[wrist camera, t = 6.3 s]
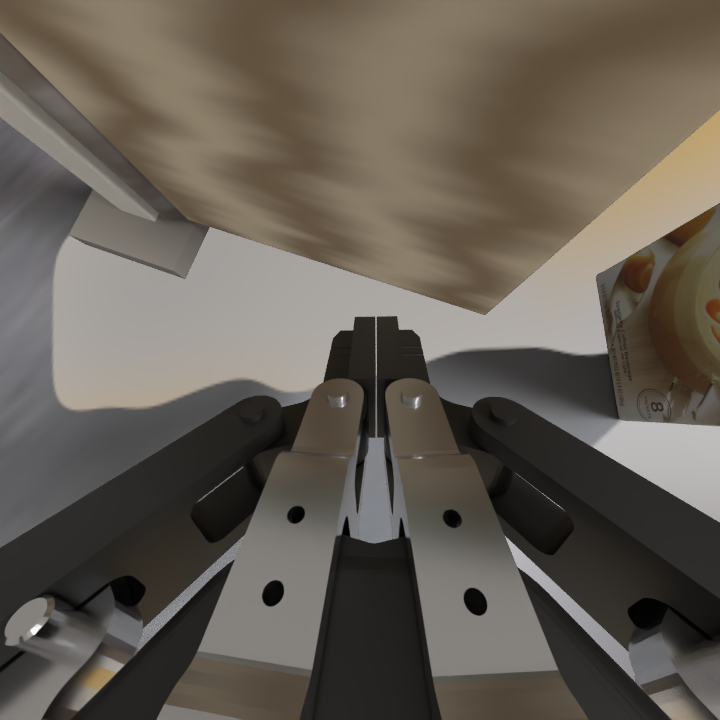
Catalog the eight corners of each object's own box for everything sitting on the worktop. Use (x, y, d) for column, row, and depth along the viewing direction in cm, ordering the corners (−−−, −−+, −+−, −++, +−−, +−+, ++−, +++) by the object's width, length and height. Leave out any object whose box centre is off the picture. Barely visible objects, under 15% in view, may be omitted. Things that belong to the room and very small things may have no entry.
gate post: (85, 244, 21) (-1497, -648, 3) (136, 149, 22) (-855, -917, 4) (185, 278, 20) (-1251, -692, 2) (232, 178, 21) (-514, -1014, 3)
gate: (151, 214, 19) (-802, -607, 4) (168, 181, 19) (-645, -700, 4) (482, 321, 16) (1750, -730, 1) (495, 282, 17) (1626, -931, 2)
